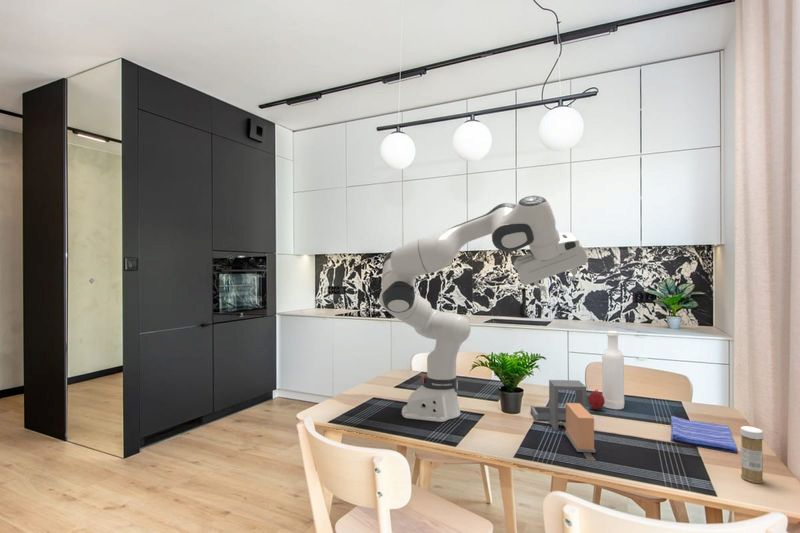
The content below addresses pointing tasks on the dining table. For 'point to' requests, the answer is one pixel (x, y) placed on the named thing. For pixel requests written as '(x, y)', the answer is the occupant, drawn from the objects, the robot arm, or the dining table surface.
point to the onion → (596, 400)
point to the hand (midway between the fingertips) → (557, 284)
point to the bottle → (613, 374)
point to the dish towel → (702, 434)
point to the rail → (587, 454)
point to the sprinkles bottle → (751, 454)
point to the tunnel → (553, 397)
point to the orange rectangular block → (580, 427)
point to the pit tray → (547, 413)
